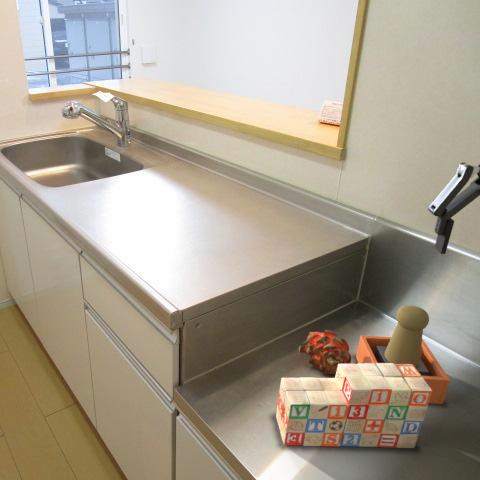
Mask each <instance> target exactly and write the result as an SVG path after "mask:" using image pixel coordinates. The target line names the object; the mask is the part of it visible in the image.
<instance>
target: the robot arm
mask: <svg viewBox="0 0 480 480" xmlns="http://www.w3.org/2000/svg"><path fill="white" fill-rule="evenodd" d="M475 175H477V177H476V178H475V179H473V180H472V181H471V182H470V183H469V181H470V179H472V178H474V176H475ZM468 183H469V184H468ZM467 184H468V186H467V187H466V188H465V186H466V185H467ZM464 188H465V189H464ZM478 197H480V163H479V164H478V165H475V164H468V163H467V162H460V163H459V165H458V167H457V170H456V173H455V174H454V176H453V177H452V178H451V179H450V181H449V182H448V183H447V184H446V185H445V187H443V189H442V190H441V191H440V193H439V194H437V196H436V197H435V199H434V200H433V201H432V202H431V203H430V204H429V206H428V207H427V211H428V212H429V213H430V214H431V215H433V216H434V217H437V219H436V222H435V227H434V233H435V234H436V235H437V236H436V240H435V244H434V249H435V250H436V251H437V252H438V253H439V254H440V255H446V253H447V250H448V245H449V242H450V239H451V235H452V231H453V228H454V224H455V220H454V219H453V217H454V216H455V215H457V214H458V213H459V212H461V211H462V210H463V209H465V208H466V207H467V206H469V204H471V203H472V202H474V201H475V200H476V199H477V198H478Z"/></svg>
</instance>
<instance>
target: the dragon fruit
mask: <svg viewBox="0 0 480 480" xmlns="http://www.w3.org/2000/svg"><path fill="white" fill-rule="evenodd" d="M306 336H307V337H306V340H305V341H302V344H306V345H299V346H298V352H299V353H301V354H306V355H308V356H310V358H309V360H308V364H309V365H310V366H311V368H313V369H314V368H316V369H319V371H320V372H322V373H323V374H325V375H332V374H333V375H334V376H336V371H337V367H338V364H352V355H351V353H349V351H350V346H349V344H348V342H347V340H346V339H345V338H340V337H339V336H338V335H337V333H335V332H333V331H332V330H329V329H325V330H324V331H323V332H322V331H321V332H320V331H309V332H308V333H307V334H306Z"/></svg>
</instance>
